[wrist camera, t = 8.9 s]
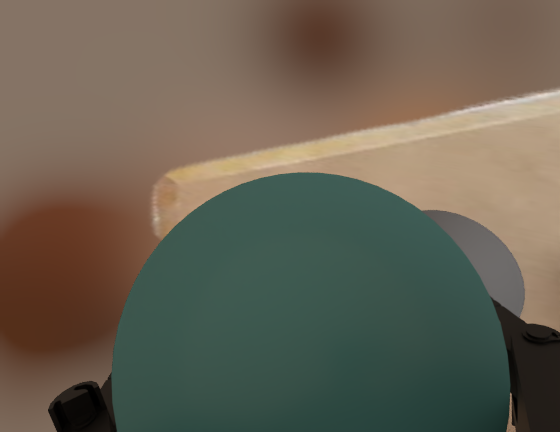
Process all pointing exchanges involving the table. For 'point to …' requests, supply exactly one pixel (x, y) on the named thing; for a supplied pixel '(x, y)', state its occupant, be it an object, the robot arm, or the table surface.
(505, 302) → the coaster
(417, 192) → the table surface
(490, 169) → the table surface
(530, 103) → the table surface
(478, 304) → the teal piece
